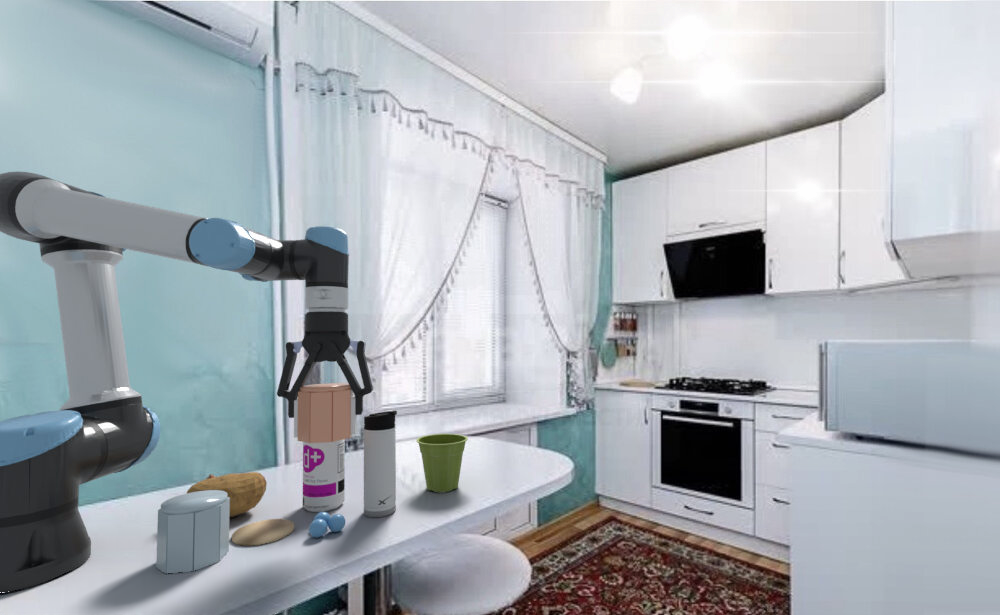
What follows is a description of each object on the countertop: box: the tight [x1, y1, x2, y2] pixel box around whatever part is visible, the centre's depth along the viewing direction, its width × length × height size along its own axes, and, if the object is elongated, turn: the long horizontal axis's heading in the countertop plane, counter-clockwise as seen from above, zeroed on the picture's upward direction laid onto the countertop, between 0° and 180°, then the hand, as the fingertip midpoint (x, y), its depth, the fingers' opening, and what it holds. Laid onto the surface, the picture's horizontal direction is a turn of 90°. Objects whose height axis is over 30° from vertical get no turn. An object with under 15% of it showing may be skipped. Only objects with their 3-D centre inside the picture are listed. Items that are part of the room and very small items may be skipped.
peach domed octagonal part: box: [297, 382, 354, 443], centre depth 84 cm, size 9×9×9 cm
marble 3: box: [327, 513, 346, 533], centre depth 83 cm, size 3×3×3 cm
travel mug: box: [363, 410, 398, 518], centre depth 93 cm, size 6×7×20 cm
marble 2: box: [308, 519, 328, 538], centre depth 81 cm, size 3×3×3 cm
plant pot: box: [416, 433, 469, 493], centre depth 107 cm, size 12×12×11 cm
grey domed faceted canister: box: [155, 490, 230, 575], centre depth 74 cm, size 9×9×9 cm
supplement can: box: [302, 439, 346, 513], centre depth 97 cm, size 8×8×15 cm
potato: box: [185, 471, 267, 518], centre depth 91 cm, size 10×14×8 cm
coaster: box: [231, 518, 295, 547], centre depth 83 cm, size 10×10×1 cm
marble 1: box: [312, 511, 332, 528], centre depth 85 cm, size 3×3×3 cm
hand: (326, 434), depth 84 cm, fingers closed on peach domed octagonal part, 9 cm apart
